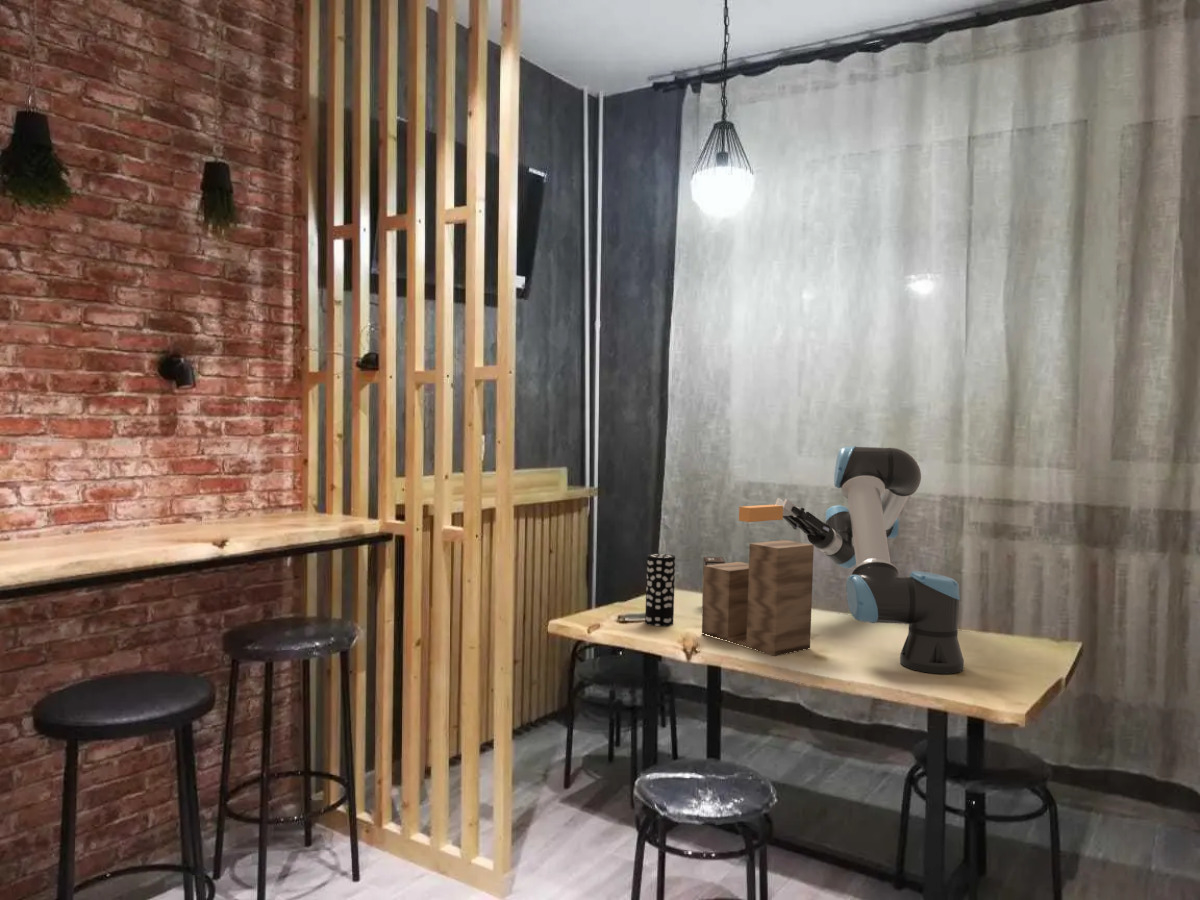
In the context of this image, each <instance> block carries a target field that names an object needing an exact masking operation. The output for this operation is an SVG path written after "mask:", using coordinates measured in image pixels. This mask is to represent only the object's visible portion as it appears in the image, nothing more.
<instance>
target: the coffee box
mask: <svg viewBox="0 0 1200 900" xmlns="http://www.w3.org/2000/svg"><path fill="white" fill-rule="evenodd" d="M724 563H726V561H725V559H724V558H723V556H703V564H702V565H703V567H702V568H703V569H702V570H703V571H702V581H703V580H704V566H706V565H715V564H724ZM701 599H702V600H701V601H702V603H701V604H702V607H703V595H702V598H701Z"/></svg>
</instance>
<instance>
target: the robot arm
mask: <svg viewBox="0 0 1200 900" xmlns="http://www.w3.org/2000/svg"><path fill="white" fill-rule="evenodd" d="M921 480H922V471H921V468H920V466H919V464H918V462H917V461H916V459H915V458H913V456H912V455H910V454H909V452H906V451H905V450H902V449H900V448H896V447H871V446H869V447H867V446H864V447H863V446H856V445H854V446H843V447H840V449H839V450H838V453H837V456H836V462H835V468H834V477H833V485H834V487H835V488H838V489H841V493H842V496H843V497H844V498H845V499H847V501H848V507H849V508H848V507H846V506H843V505H833V506H830V507H829V508H828V509H827V510H826V511H825V522H824V521H822V520H821V519H819V518H818V517H816V516H814V514H813V513H811V512H810V511H805V510H806V509H805V508H804V507H801V510H800V509H799V508H798V507H799V506H796V505H795V504H794V503H793V502H791V501H790V500H789V499H788V498H785V499H784V500H783V499H781V498H780V497H777V499H776V500H775V504H774V505H780V506H783V508H784V509H785V510H786V511H788V512H789V513H790V514H791V515H790V516H783V520H785V521H786V522H787V523H788V524H789V525H790V526H791V527H792V529H793V530H798V529H800V530H801V531H802V532H803V533H804V534H805V535H806V536H807V540H808V542H809V544H812V545H814V547H815V548H816V549H818V550H820V552H822V554H823V555H825V556H827V558H828V559H830V560H831V561H833V563H835V565H838V566H839V567H840V568H842V569H850V568H853V567H854V568H853V570H852V572H851V575H849V576H848V577H847V579H846V586H845V591H846V600H847V606H848V609H849V611H850V614H851V615H852V618H854V619H855V620H857V622H864V623H871V624H875V623H878V624H879V623H881V624H883V623H884V624H899V625H901V624H902V625H903V624H904V625H908V631H907V632H908V633H907V636H906V639H905V641H904V644H903V646H902V649H901V652H900V657H899V662H900V664H901V665H902V666H903V667H905V668H908V669H910V670H912V671H913V670H914V671H917V672H922V673H929V674H937V673H938V674H939V675H941V674H944V675H951V674H950V673H953V674H958V673H957V672H959V673H961V672H963V671H964V670H963V669H965V667H964V666H965V663H964V662H965V661H964V660H965V659H964V656H963V653H962V650H961V646H960V642H959V638H958V631H959V630H958V628H959V610H960V608H959V607H960V600H961V597H960V585H959V582H958V581H956V579H953V578H952V577H949V576H945V575H943V574H938V573H933V572H927V571H922V570H921V571H919V570H912V571H911V572H910V574H909V577H908V576H907V577H906V576H905V577H904V576H900V575H899V570H898V568H897V567H896V566H895V565H894V564H893V563H891V558H890V550H889V545H888V539H896V538H897V537H898V535H899V531H900V522H899V516H900V513H901V511H902V510H903V509H904V507H905V504H906V503H907V501H908V499H909V497H910V496H911V495H914V494H915V493H916V492H917V490H918V488H919V487H920V485H921V482H922V481H921ZM962 670H963V671H962ZM960 671H961V672H960Z"/></svg>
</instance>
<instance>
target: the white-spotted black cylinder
mask: <svg viewBox="0 0 1200 900" xmlns="http://www.w3.org/2000/svg"><path fill="white" fill-rule="evenodd" d="M675 577H676V555H674V554H668V553H649V554H647V555H646V578H645V579H646V582H645V583H646V585H645V589H646V590H645V617H644V618H645V619H644V620H645V621H644V623H645V624H646V625H649V626H654V627H669V626H672V625H674V616H675V614H674V613H675V584H676V583H675V580H676V579H675Z"/></svg>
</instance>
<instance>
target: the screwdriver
mask: <svg viewBox="0 0 1200 900" xmlns="http://www.w3.org/2000/svg"><path fill="white" fill-rule="evenodd" d="M797 507H798V508H799V509H800V510H801V508H802V507H800V506H797ZM738 510H739V511H738V521H739V522H745V523H756V522H768V521H769V522H771V521H781V520H782V521H783V520H784V518H783V516H790V515H791V514H790V513H789V512H788V511H786V510H785V509H784V508H783V506H780V505H775V504H760V505H744V506H738Z"/></svg>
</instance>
